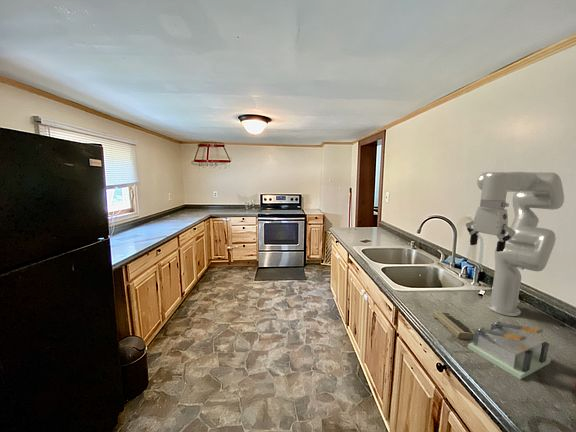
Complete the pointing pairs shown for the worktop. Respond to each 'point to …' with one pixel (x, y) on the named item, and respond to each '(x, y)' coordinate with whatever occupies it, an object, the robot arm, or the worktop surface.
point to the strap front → (502, 334)
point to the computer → (454, 325)
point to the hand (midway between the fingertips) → (485, 247)
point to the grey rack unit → (511, 347)
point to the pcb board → (515, 372)
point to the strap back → (519, 327)
